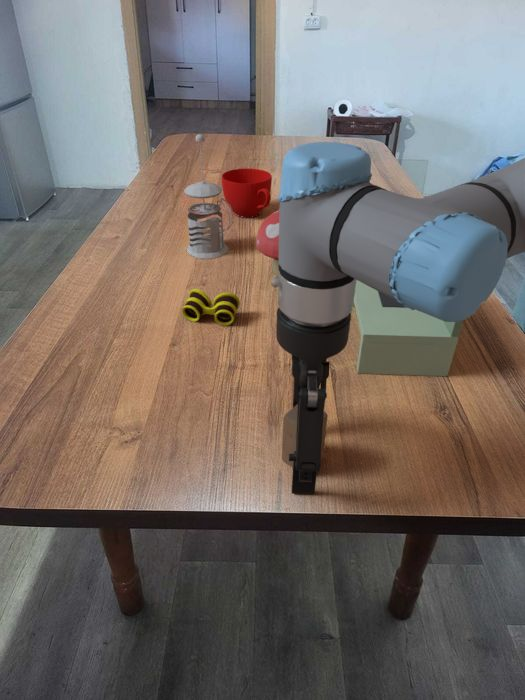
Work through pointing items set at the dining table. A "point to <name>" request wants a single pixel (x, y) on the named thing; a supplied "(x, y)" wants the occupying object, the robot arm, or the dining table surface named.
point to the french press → (202, 243)
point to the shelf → (401, 337)
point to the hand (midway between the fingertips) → (302, 458)
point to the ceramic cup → (247, 190)
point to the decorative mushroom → (270, 240)
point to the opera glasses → (201, 305)
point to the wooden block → (291, 431)
